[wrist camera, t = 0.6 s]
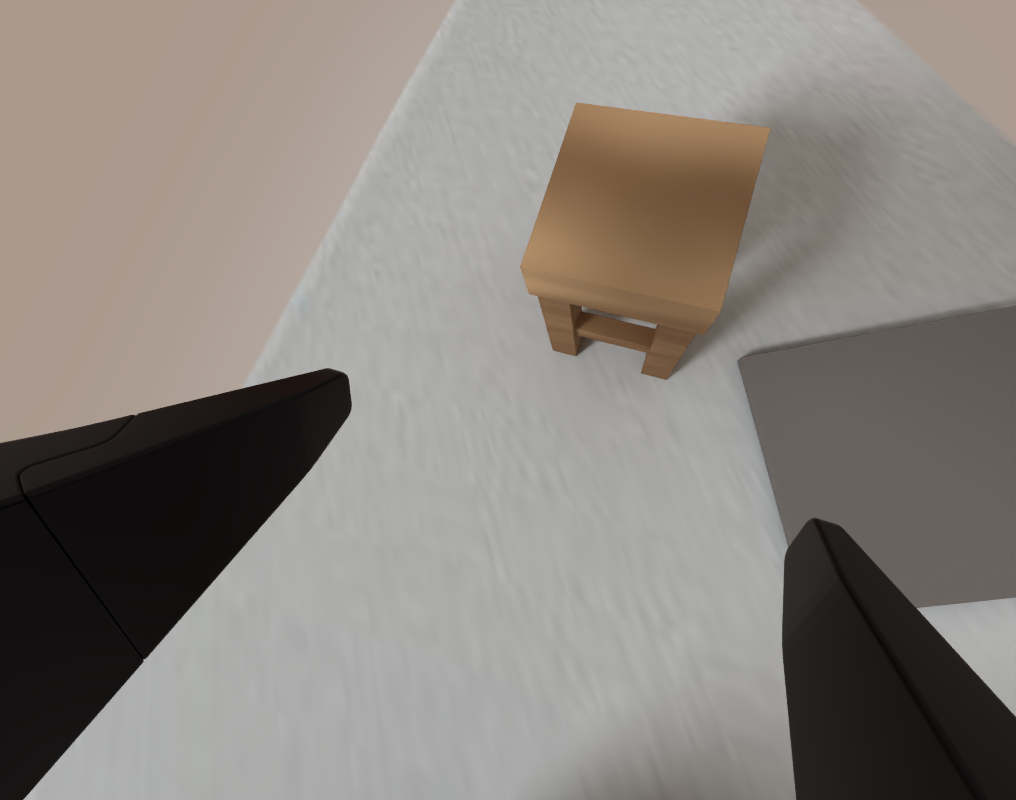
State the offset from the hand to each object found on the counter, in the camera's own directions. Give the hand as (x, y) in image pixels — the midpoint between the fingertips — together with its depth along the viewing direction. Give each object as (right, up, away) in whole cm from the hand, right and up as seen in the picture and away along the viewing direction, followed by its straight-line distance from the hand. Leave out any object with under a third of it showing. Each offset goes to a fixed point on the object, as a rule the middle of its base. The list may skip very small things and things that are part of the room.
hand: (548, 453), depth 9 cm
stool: (+5, +5, +14) cm, 16 cm away
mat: (+16, -1, +10) cm, 19 cm away
